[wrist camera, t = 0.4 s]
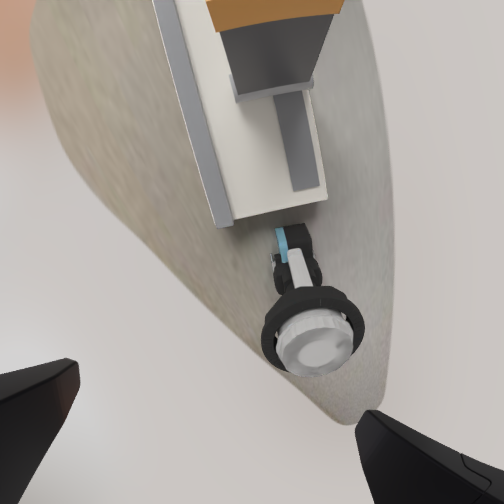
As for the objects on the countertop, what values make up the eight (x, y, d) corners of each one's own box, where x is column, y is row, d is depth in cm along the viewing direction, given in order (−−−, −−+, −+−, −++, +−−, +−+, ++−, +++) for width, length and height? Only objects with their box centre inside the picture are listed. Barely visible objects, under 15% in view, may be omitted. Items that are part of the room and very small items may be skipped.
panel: (145, -57, 12) (131, -76, 9) (251, -82, 12) (253, -105, 9) (217, 209, 22) (213, 229, 19) (319, 186, 21) (331, 203, 18)
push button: (329, 290, 25) (365, 389, 17) (263, 302, 26) (274, 407, 17) (323, 213, 22) (373, 300, 13) (248, 227, 23) (253, 323, 14)
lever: (230, 81, 16) (192, -34, 6) (303, 66, 15) (335, -53, 6) (237, 107, 16) (202, 5, 6) (311, 92, 16) (356, -16, 6)
